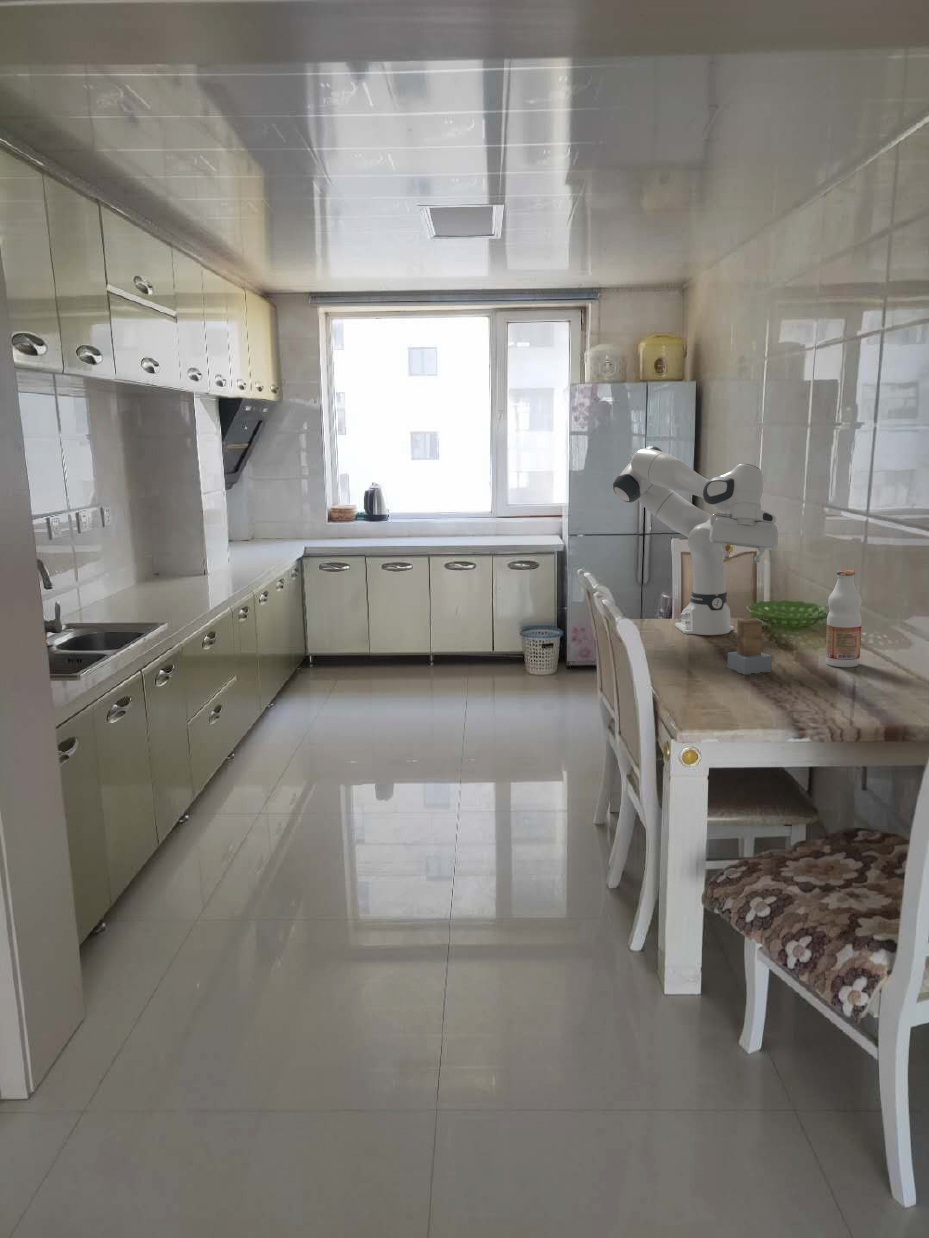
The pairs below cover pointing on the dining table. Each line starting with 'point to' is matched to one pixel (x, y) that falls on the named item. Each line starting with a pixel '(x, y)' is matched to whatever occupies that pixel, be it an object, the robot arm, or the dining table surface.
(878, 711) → the dining table surface
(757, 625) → the walnut block
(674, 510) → the robot arm
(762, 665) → the slate grey base block
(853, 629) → the fruit juice
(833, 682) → the dining table surface
